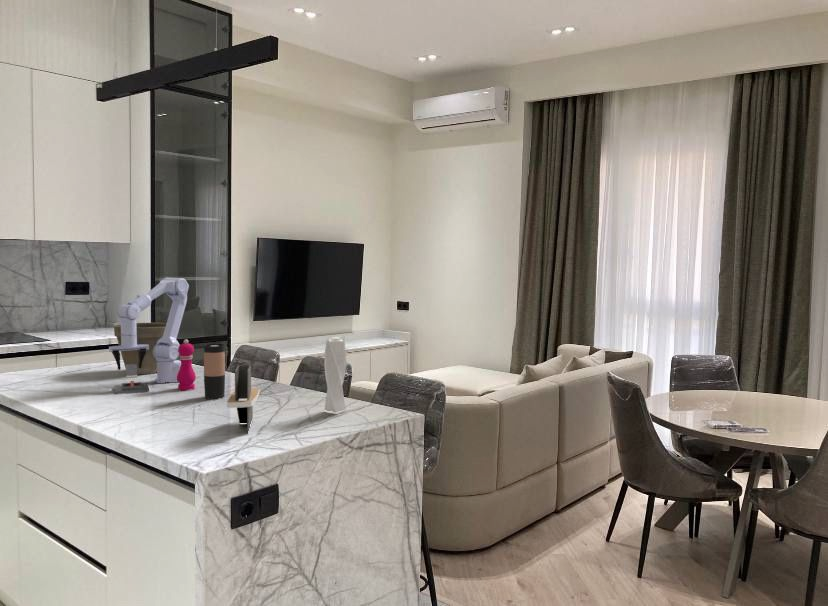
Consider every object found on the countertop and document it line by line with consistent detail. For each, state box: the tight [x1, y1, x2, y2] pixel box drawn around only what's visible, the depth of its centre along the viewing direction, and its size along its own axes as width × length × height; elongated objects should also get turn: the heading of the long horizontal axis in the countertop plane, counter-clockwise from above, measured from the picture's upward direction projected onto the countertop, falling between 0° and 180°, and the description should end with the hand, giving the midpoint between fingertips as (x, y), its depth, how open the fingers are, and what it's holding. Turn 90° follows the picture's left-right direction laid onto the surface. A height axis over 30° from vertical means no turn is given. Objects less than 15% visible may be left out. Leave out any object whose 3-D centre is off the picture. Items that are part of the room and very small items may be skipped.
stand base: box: [114, 380, 150, 395], centre depth 265 cm, size 12×12×4 cm
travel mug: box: [203, 343, 226, 400], centre depth 253 cm, size 8×8×20 cm
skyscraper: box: [323, 333, 347, 412], centre depth 233 cm, size 8×8×28 cm
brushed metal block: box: [125, 363, 139, 379], centre depth 264 cm, size 4×4×5 cm
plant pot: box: [113, 322, 167, 375], centre depth 304 cm, size 25×25×22 cm
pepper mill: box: [177, 338, 197, 391], centre depth 268 cm, size 7×7×20 cm
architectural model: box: [226, 364, 260, 432], centre depth 211 cm, size 38×25×20 cm, turn 9°
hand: (129, 368), depth 267 cm, fingers open, 7 cm apart
